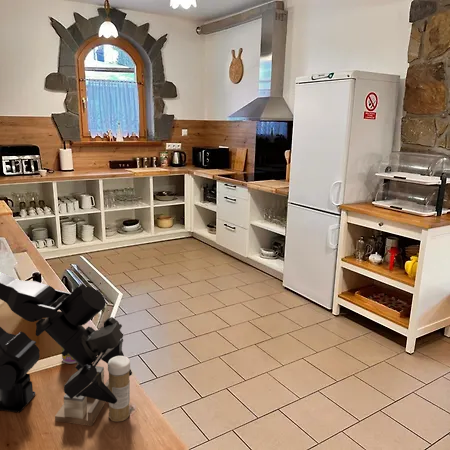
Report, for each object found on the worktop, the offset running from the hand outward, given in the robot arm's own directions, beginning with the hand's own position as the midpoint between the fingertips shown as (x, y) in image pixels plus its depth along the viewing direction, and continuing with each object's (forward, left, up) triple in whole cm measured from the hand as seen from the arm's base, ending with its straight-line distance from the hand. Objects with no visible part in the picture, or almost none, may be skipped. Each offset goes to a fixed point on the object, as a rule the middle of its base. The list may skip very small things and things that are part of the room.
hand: (123, 388), depth 90 cm
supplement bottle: (-20, +18, -7) cm, 28 cm away
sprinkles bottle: (-1, 0, -7) cm, 7 cm away
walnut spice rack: (-10, +2, -7) cm, 12 cm away
